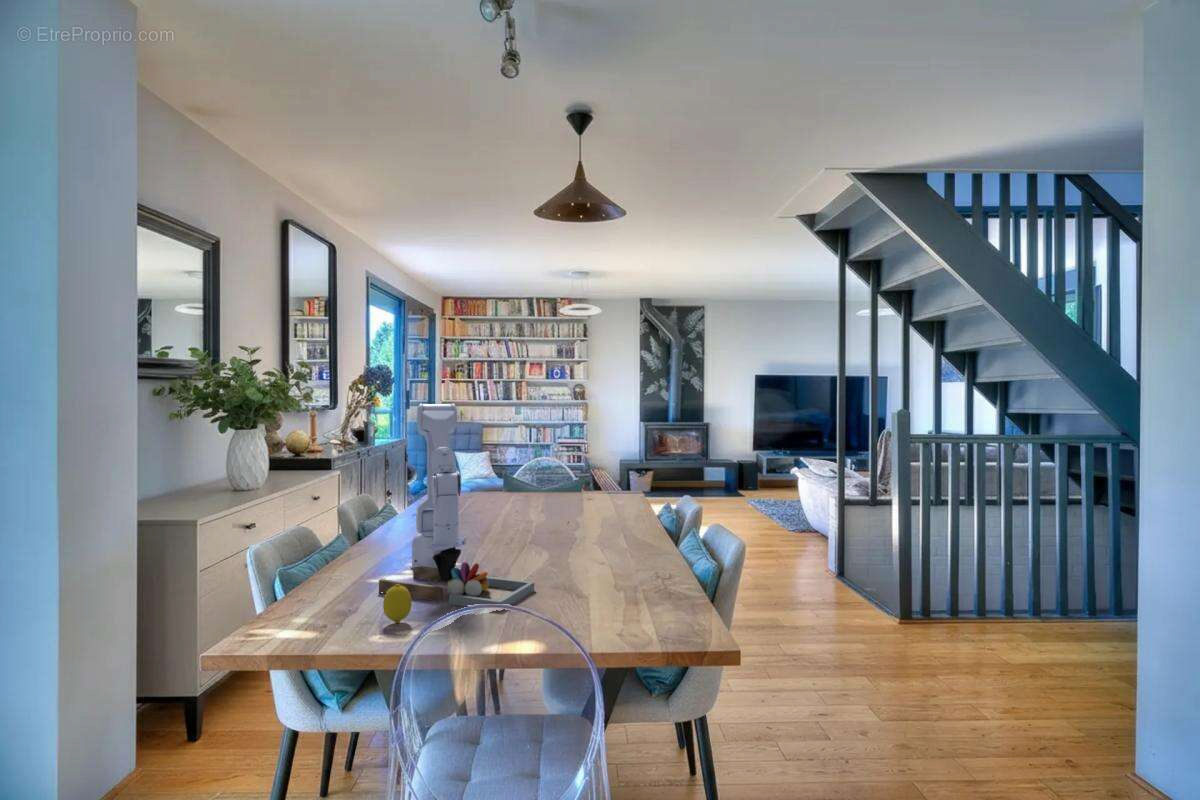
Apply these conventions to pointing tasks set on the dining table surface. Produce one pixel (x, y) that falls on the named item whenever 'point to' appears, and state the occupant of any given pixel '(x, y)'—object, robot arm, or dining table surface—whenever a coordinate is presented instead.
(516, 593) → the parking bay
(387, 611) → the lemon
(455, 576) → the multicolored rounded disc cluster
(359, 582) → the dining table surface
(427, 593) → the lane rails
